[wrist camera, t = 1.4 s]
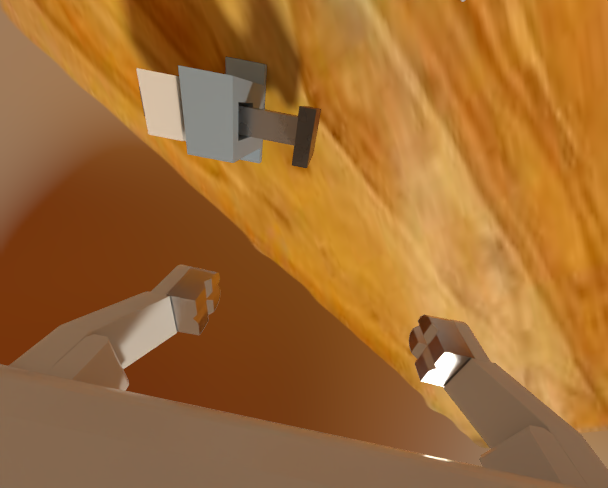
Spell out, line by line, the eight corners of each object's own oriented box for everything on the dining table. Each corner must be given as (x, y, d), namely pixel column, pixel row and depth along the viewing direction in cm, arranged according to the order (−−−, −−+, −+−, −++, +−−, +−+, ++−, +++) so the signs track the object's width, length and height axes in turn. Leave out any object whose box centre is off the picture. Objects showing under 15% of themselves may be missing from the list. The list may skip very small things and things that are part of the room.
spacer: (176, 76, 28) (136, 68, 22) (207, 82, 28) (175, 75, 22) (182, 129, 31) (148, 134, 25) (210, 135, 31) (183, 141, 25)
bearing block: (228, 58, 29) (174, 32, 19) (267, 65, 29) (232, 43, 19) (229, 155, 35) (189, 174, 25) (261, 161, 35) (233, 183, 25)
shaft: (158, 77, 26) (97, 67, 20) (321, 108, 26) (316, 109, 19) (165, 124, 29) (113, 130, 22) (313, 153, 29) (306, 168, 22)
